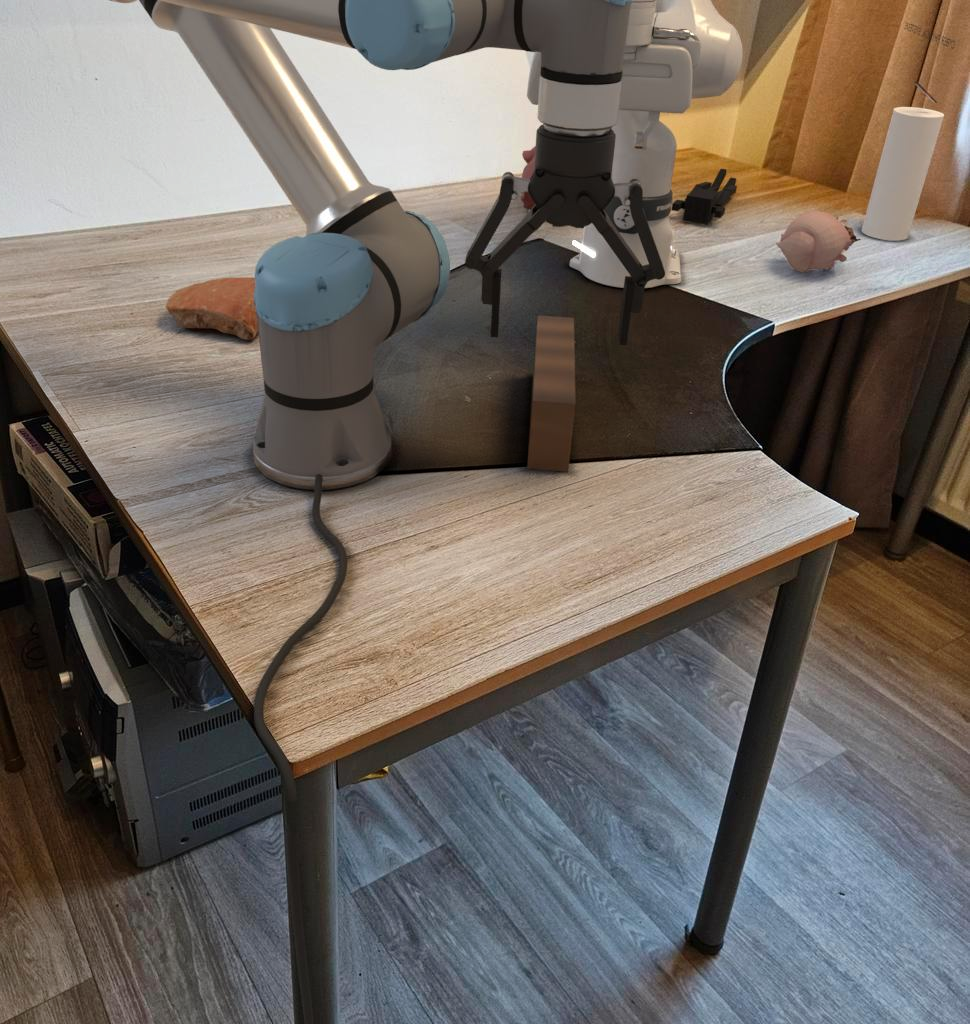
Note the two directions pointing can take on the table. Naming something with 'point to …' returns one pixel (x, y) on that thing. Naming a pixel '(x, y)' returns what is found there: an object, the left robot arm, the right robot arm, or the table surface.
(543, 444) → the bar
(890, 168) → the tall white tube
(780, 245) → the toy
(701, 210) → the toy
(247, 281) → the ceramic shard
